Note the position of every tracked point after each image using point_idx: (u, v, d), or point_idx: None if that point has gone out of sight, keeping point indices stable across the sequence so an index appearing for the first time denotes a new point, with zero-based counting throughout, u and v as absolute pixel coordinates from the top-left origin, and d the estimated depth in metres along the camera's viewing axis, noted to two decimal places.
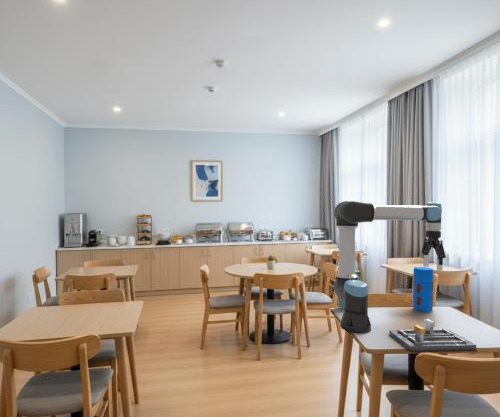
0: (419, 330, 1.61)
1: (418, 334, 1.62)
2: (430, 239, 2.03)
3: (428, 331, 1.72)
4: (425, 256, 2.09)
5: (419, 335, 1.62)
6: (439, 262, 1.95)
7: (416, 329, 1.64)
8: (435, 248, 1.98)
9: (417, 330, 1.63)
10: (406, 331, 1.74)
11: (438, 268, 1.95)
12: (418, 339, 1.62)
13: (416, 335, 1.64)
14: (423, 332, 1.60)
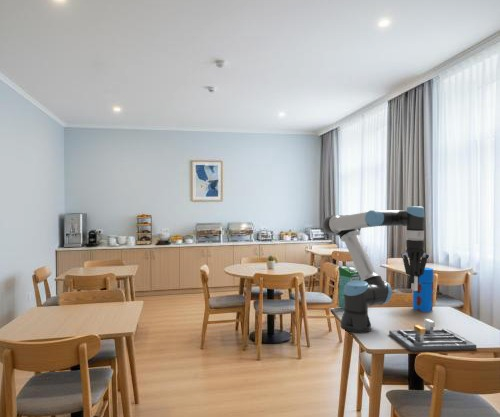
0: (419, 330, 1.61)
1: (418, 334, 1.62)
2: None
3: (428, 331, 1.72)
4: None
5: (419, 335, 1.62)
6: None
7: (416, 329, 1.64)
8: None
9: (417, 330, 1.63)
10: (406, 331, 1.74)
11: (411, 287, 1.70)
12: (418, 339, 1.62)
13: (416, 335, 1.64)
14: (423, 332, 1.60)
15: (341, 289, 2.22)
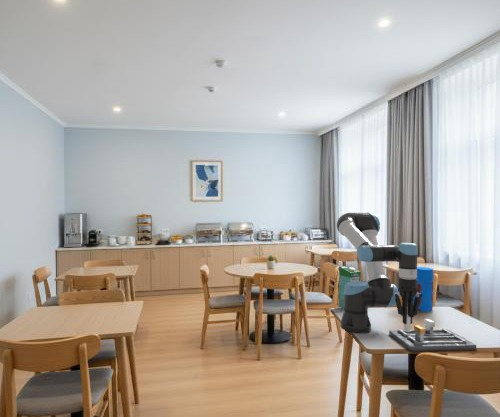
0: (419, 330, 1.61)
1: (418, 334, 1.62)
2: None
3: (428, 331, 1.72)
4: None
5: (419, 335, 1.62)
6: None
7: (416, 329, 1.64)
8: (402, 301, 1.63)
9: (417, 330, 1.63)
10: None
11: (404, 327, 1.63)
12: (418, 339, 1.62)
13: (416, 335, 1.64)
14: (423, 332, 1.60)
15: (341, 289, 2.22)
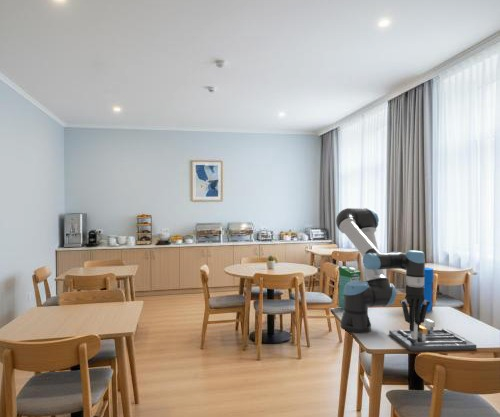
0: (421, 330, 1.61)
1: (420, 334, 1.62)
2: None
3: (428, 331, 1.72)
4: None
5: (421, 335, 1.62)
6: None
7: None
8: (409, 309, 1.64)
9: (419, 330, 1.63)
10: (406, 331, 1.74)
11: (411, 334, 1.63)
12: (420, 339, 1.62)
13: (418, 335, 1.64)
14: (425, 332, 1.60)
15: (341, 289, 2.22)
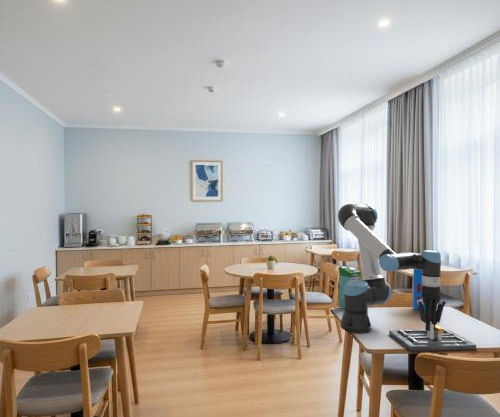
0: (437, 330, 1.62)
1: (436, 334, 1.63)
2: None
3: None
4: None
5: (437, 335, 1.62)
6: None
7: None
8: (425, 308, 1.64)
9: (435, 330, 1.63)
10: (406, 331, 1.74)
11: (427, 334, 1.64)
12: (436, 339, 1.63)
13: (434, 335, 1.65)
14: (441, 332, 1.61)
15: (341, 289, 2.22)
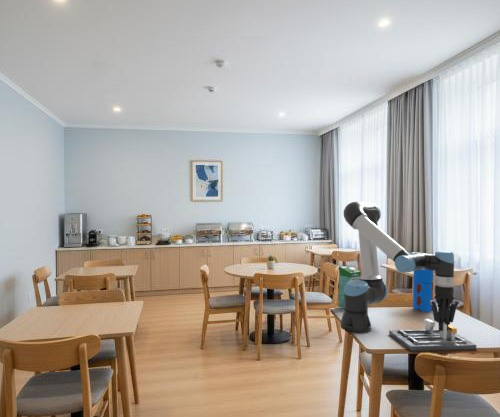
0: (450, 329, 1.62)
1: (449, 333, 1.64)
2: None
3: (428, 331, 1.72)
4: None
5: (450, 334, 1.63)
6: None
7: None
8: (438, 308, 1.65)
9: (448, 329, 1.64)
10: (406, 331, 1.74)
11: (440, 334, 1.65)
12: (449, 338, 1.64)
13: (447, 335, 1.65)
14: (455, 331, 1.62)
15: (341, 289, 2.22)
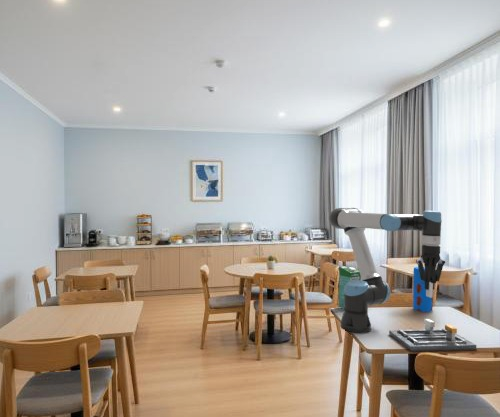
0: (451, 329, 1.62)
1: (449, 333, 1.64)
2: None
3: (428, 331, 1.72)
4: None
5: (450, 334, 1.63)
6: None
7: (447, 328, 1.65)
8: (425, 268, 1.66)
9: (448, 329, 1.64)
10: (406, 331, 1.74)
11: (426, 293, 1.66)
12: (449, 338, 1.64)
13: (447, 335, 1.65)
14: (455, 331, 1.62)
15: (341, 289, 2.22)
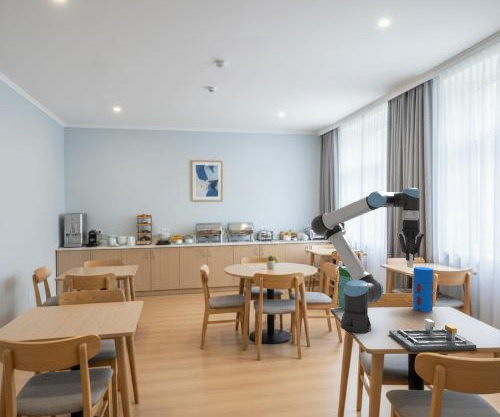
0: (451, 329, 1.62)
1: (449, 333, 1.64)
2: None
3: (428, 331, 1.72)
4: None
5: (450, 334, 1.63)
6: None
7: (447, 328, 1.65)
8: (405, 241, 1.80)
9: (448, 329, 1.64)
10: (406, 331, 1.74)
11: (407, 264, 1.80)
12: (449, 338, 1.64)
13: (447, 335, 1.65)
14: (455, 331, 1.62)
15: (341, 289, 2.22)
